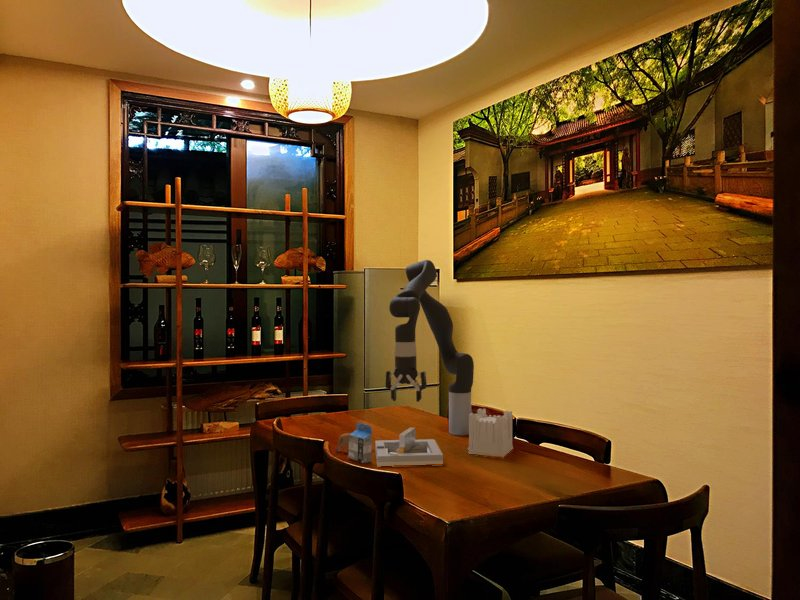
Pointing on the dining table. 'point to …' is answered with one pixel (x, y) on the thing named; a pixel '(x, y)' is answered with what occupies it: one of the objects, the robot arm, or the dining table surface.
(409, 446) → the dial
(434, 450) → the housing
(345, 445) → the lion figurine
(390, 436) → the dining table surface
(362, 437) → the label tape box
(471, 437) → the castle model
